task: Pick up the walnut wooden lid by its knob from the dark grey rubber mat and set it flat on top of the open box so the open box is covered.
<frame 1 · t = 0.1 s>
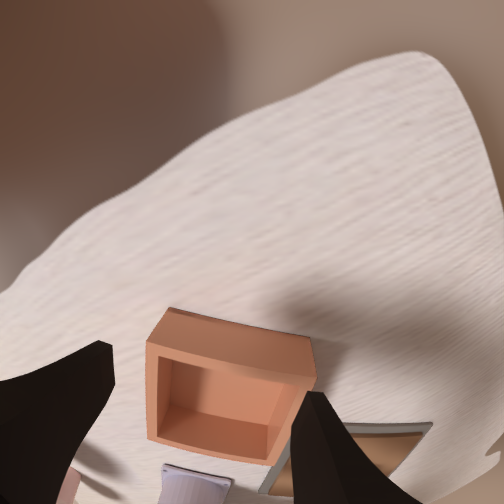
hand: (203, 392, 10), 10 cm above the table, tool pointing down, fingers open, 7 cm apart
smoothie: (72, 470, 31), on the table
lid: (342, 468, 24), resting on mat
mat: (341, 465, 25), on the table
open box: (227, 377, 22), on the table
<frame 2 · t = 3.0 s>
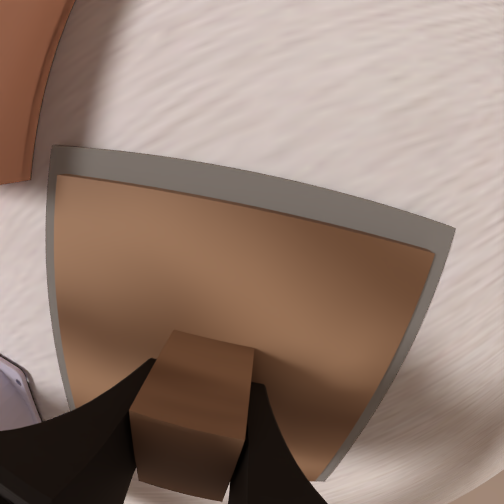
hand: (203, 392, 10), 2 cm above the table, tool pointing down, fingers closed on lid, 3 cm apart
lid: (209, 371, 11), resting on mat, touching gripper
mat: (211, 365, 11), on the table
when the fingers open (7 cm above the table, at t = 6.6 s): lid stays where it is, resting on open box.
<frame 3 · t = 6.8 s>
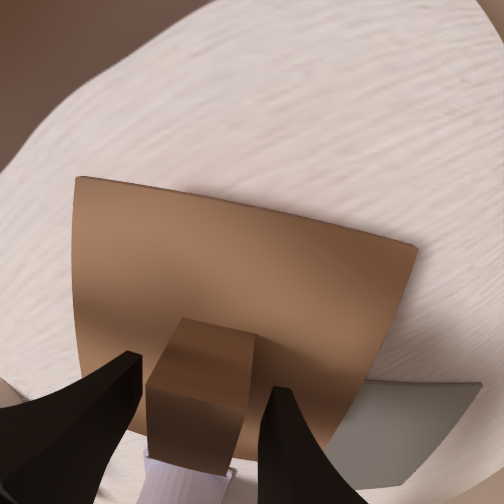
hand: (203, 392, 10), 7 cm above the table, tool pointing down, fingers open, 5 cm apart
lid: (213, 357, 12), point 4 cm above the table, touching open box
mat: (373, 447, 19), on the table
coffee cup: (11, 398, 22), on the table
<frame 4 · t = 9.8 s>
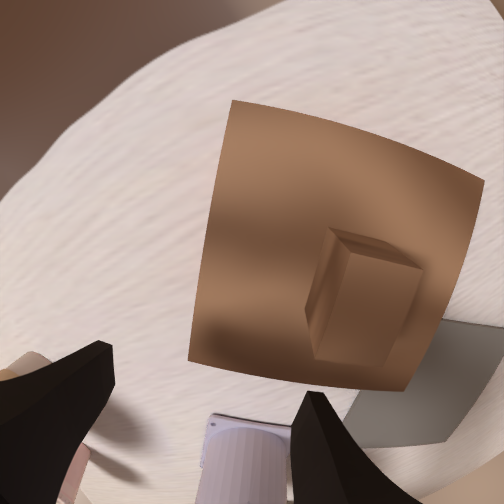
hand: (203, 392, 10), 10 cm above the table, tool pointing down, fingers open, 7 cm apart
smoothie: (79, 445, 27), on the table
lid: (341, 271, 14), point 4 cm above the table, touching open box
mat: (429, 393, 21), on the table
coffee cup: (46, 377, 24), on the table
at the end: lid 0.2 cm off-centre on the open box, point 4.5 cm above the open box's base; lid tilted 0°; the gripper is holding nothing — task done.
